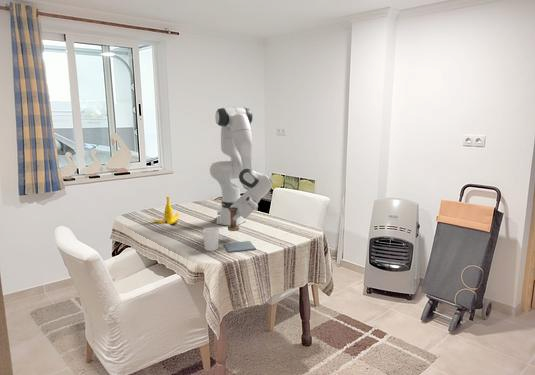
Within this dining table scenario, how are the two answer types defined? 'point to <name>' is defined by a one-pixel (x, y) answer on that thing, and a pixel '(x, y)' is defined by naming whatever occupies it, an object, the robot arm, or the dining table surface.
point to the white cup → (211, 238)
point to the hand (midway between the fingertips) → (232, 218)
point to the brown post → (233, 223)
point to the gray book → (239, 246)
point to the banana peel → (168, 214)
